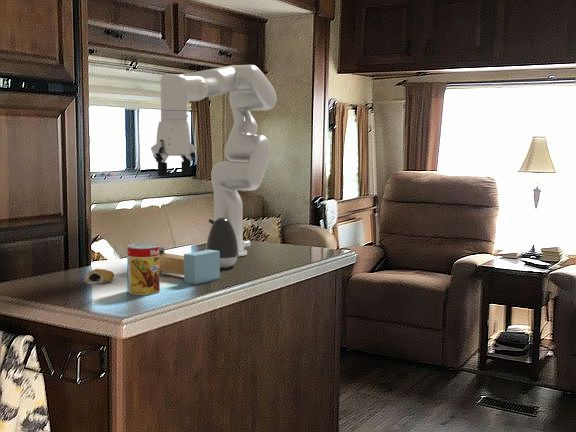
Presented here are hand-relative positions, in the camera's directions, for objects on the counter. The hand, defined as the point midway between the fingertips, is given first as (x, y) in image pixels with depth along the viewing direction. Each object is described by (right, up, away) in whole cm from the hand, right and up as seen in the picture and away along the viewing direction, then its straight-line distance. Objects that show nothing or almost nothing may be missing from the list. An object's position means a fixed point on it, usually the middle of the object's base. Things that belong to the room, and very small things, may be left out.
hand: (174, 175), depth 207 cm
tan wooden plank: (+2, -28, -8) cm, 29 cm away
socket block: (+10, -30, -14) cm, 35 cm away
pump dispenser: (+13, -28, +8) cm, 32 cm away
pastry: (-18, -30, -15) cm, 39 cm away
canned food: (-3, -32, -28) cm, 42 cm away
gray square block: (-8, -28, -1) cm, 30 cm away
